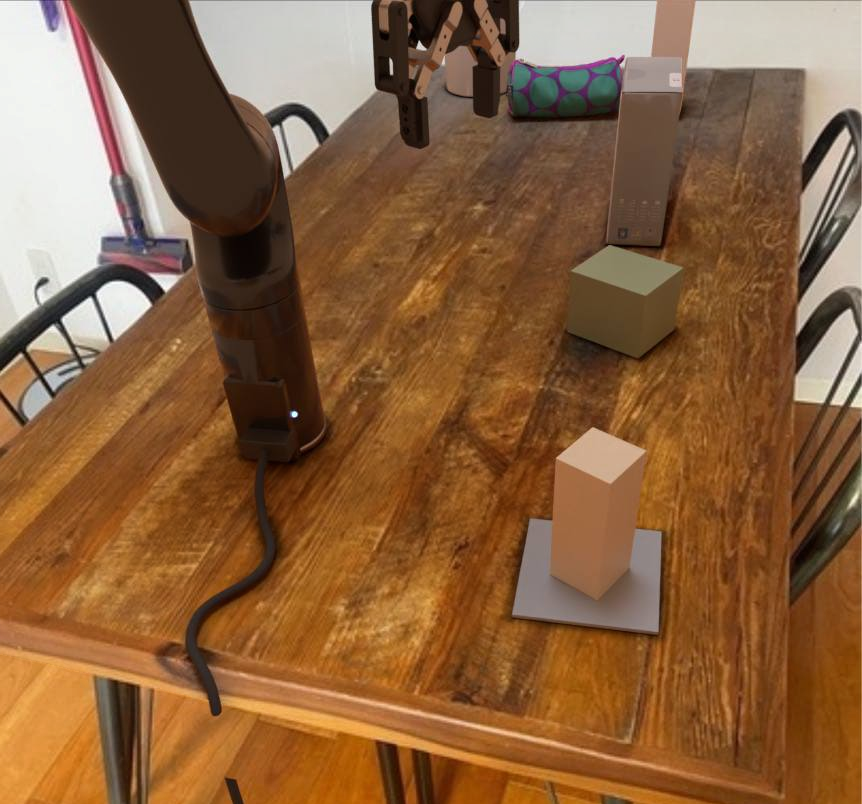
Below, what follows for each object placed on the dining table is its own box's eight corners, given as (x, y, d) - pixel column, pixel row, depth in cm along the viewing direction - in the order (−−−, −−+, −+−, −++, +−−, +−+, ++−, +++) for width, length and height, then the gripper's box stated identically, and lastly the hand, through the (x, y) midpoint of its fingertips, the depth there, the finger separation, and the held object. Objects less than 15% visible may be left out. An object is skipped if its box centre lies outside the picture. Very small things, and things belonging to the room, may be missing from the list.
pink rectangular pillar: (648, 108, 158) (662, -34, 143) (681, 108, 156) (700, -34, 141) (644, 119, 154) (659, -25, 139) (678, 120, 152) (697, -26, 137)
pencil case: (505, 125, 156) (505, 67, 149) (507, 108, 162) (507, 52, 155) (621, 121, 154) (627, 62, 147) (618, 104, 160) (623, 47, 153)
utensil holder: (483, 70, 180) (481, -28, 168) (533, 84, 171) (535, -18, 159) (429, 88, 174) (423, -13, 161) (478, 104, 165) (476, -1, 153)
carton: (555, 458, 66) (610, 484, 63) (592, 426, 68) (647, 450, 66) (549, 574, 75) (597, 601, 72) (582, 542, 77) (629, 567, 75)
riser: (566, 332, 104) (570, 270, 98) (604, 305, 108) (609, 244, 102) (637, 358, 99) (645, 295, 93) (674, 329, 103) (684, 267, 97)
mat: (657, 635, 70) (658, 632, 69) (511, 617, 72) (511, 614, 72) (661, 534, 78) (661, 531, 78) (530, 521, 80) (530, 518, 80)
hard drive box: (661, 248, 118) (683, 92, 104) (605, 246, 119) (618, 92, 105) (663, 201, 129) (682, 54, 115) (611, 200, 130) (624, 54, 116)
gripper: (413, -98, 53) (427, 168, 64) (551, -130, 60) (542, 114, 72) (331, -105, 57) (358, 147, 68) (470, -135, 64) (473, 98, 75)
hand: (452, 130), depth 70 cm, fingers open, 8 cm apart
